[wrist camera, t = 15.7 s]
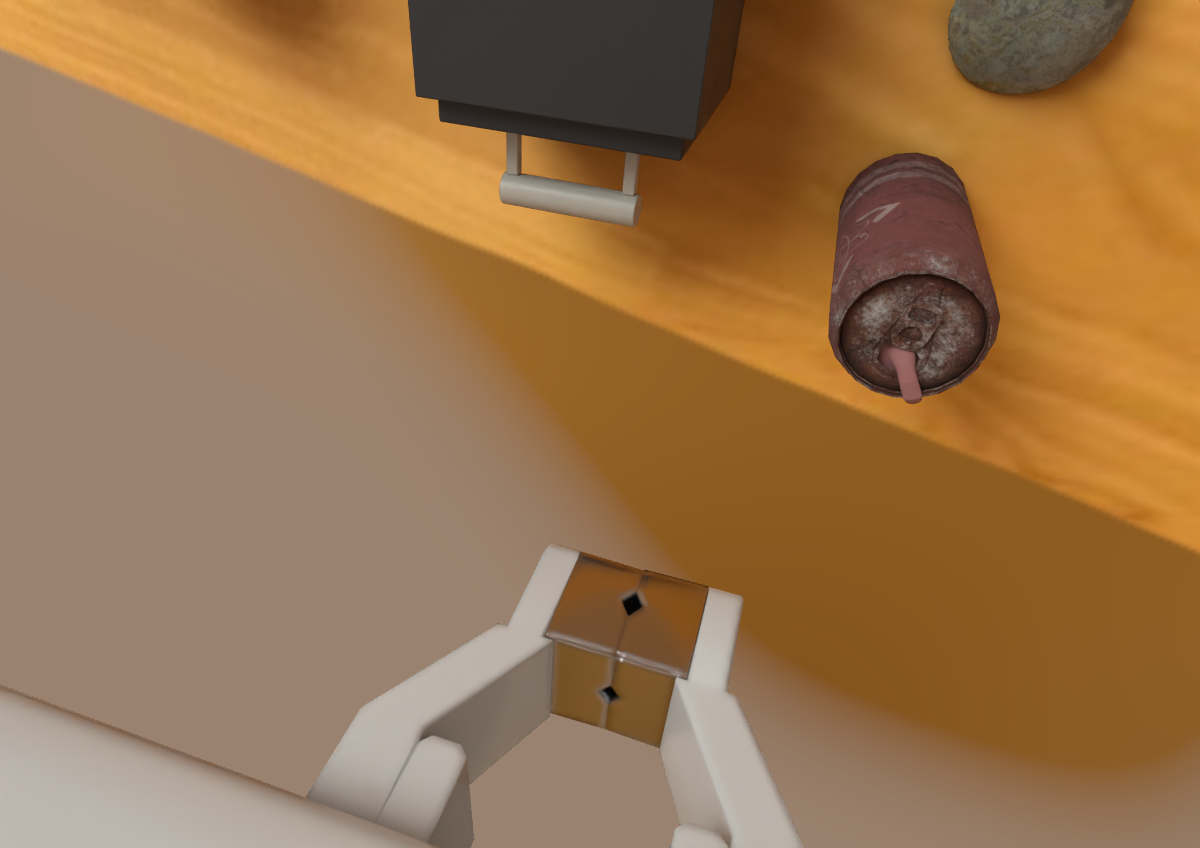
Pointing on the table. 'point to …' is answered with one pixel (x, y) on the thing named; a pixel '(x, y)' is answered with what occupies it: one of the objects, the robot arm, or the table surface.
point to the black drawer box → (580, 58)
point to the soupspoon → (1030, 40)
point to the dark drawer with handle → (558, 192)
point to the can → (910, 280)
